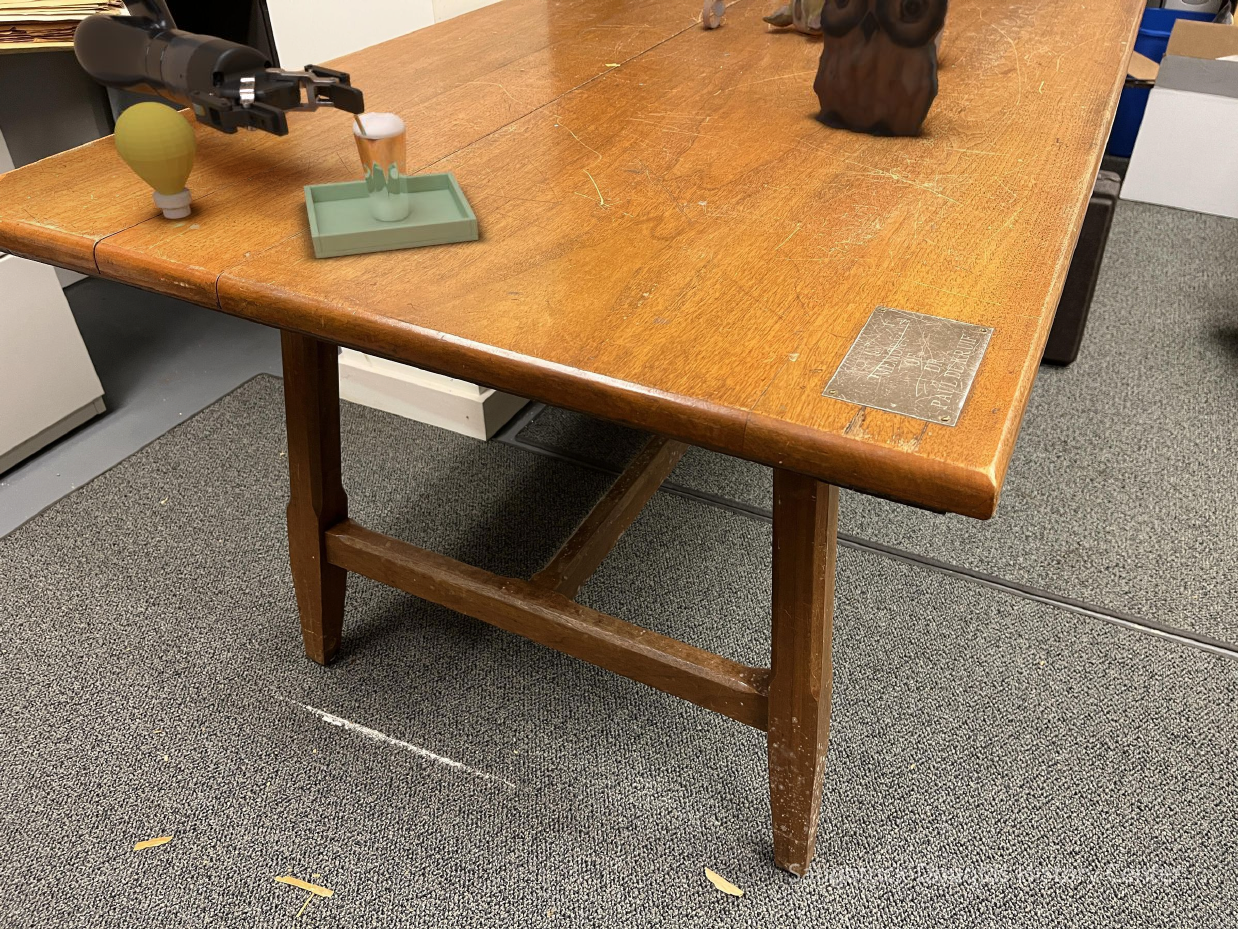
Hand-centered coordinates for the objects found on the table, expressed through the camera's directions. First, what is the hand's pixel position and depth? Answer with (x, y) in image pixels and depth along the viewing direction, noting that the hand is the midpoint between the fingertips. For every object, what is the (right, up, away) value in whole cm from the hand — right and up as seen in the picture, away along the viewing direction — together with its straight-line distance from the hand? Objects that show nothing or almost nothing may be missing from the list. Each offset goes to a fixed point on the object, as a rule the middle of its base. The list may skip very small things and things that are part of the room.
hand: (323, 113), depth 82 cm
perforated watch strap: (+42, +40, +67) cm, 89 cm away
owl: (+58, +10, +29) cm, 66 cm away
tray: (+5, -9, +2) cm, 11 cm away
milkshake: (+5, -9, +2) cm, 11 cm away
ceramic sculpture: (+59, +39, +66) cm, 97 cm away
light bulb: (-15, -9, +3) cm, 17 cm away
